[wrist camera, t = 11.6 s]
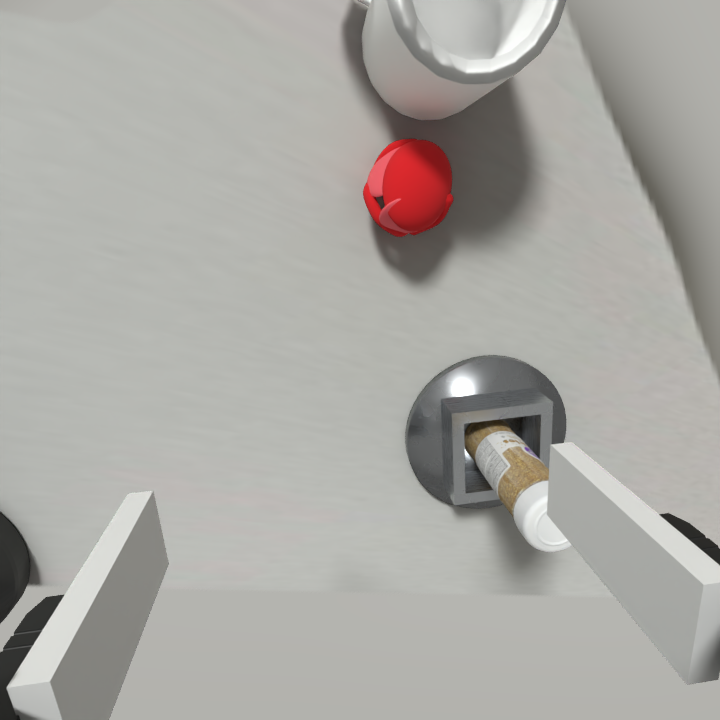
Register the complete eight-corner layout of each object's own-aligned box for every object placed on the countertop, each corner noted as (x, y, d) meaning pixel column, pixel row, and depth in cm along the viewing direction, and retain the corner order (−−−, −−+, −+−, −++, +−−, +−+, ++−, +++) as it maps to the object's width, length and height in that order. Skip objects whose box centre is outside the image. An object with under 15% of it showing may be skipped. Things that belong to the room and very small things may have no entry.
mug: (297, 60, 36) (294, -3, 25) (353, -93, 33) (374, -229, 23) (459, 144, 38) (514, 118, 28) (520, 8, 36) (604, -74, 26)
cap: (407, 267, 37) (474, 225, 34) (353, 218, 34) (421, 166, 31) (406, 204, 42) (465, 161, 39) (359, 155, 39) (419, 104, 35)
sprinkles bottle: (517, 422, 45) (603, 506, 32) (496, 465, 46) (571, 562, 33) (474, 407, 44) (544, 486, 31) (453, 450, 45) (512, 545, 32)
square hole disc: (409, 511, 47) (419, 541, 43) (400, 364, 43) (411, 381, 39) (557, 492, 48) (582, 518, 44) (564, 346, 44) (592, 360, 40)
